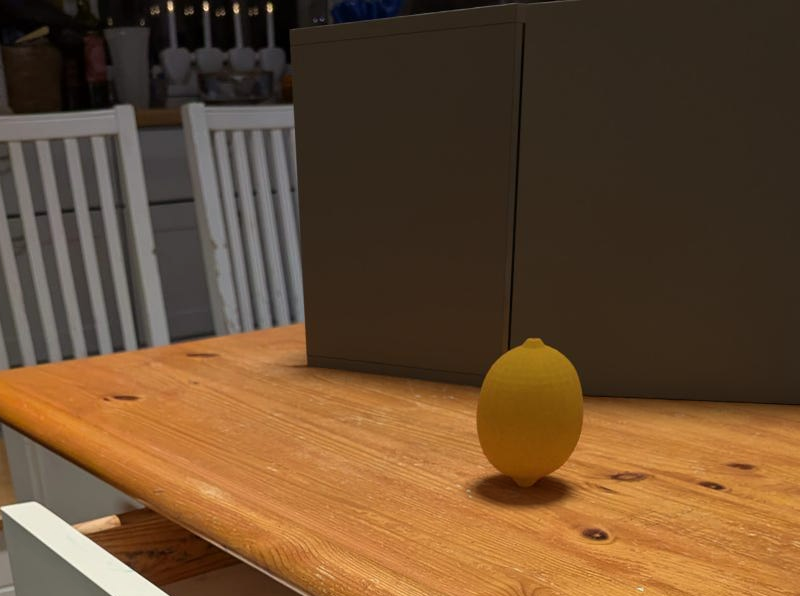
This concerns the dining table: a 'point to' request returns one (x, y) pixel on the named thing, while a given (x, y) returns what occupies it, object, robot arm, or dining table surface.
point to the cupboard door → (662, 196)
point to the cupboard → (409, 190)
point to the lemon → (530, 412)
